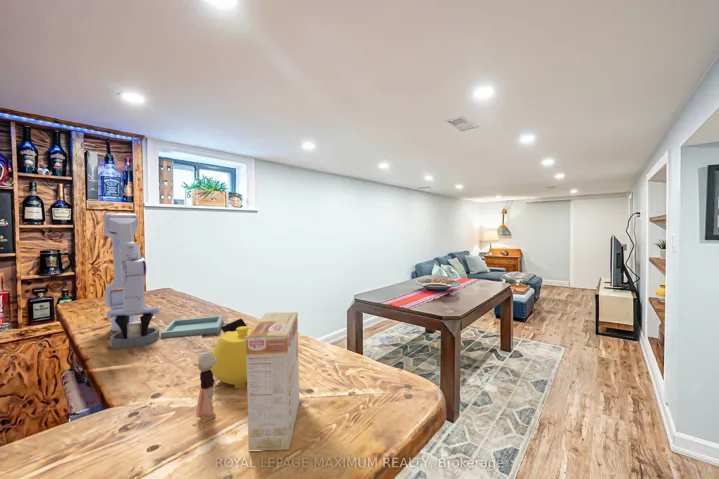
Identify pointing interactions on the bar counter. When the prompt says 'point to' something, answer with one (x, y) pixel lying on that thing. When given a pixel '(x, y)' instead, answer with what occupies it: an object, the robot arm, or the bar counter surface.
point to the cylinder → (134, 330)
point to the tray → (193, 327)
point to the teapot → (231, 357)
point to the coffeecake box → (272, 381)
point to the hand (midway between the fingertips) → (135, 337)
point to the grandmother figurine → (206, 387)
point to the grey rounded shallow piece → (134, 339)
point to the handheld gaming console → (233, 326)
